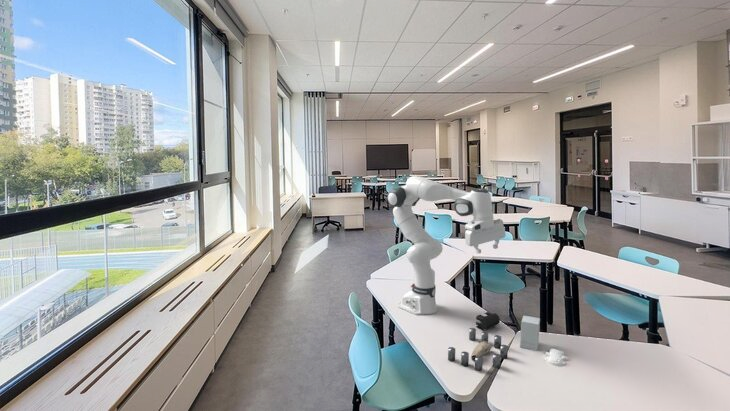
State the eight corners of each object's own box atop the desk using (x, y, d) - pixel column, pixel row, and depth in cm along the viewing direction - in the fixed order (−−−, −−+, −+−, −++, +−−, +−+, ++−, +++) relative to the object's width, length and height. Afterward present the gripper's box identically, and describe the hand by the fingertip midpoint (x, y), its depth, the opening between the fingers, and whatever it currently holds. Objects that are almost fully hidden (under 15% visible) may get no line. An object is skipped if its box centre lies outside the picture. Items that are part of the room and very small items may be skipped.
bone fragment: (479, 346, 175) (479, 337, 174) (492, 351, 170) (493, 342, 170) (465, 359, 165) (465, 349, 164) (478, 365, 160) (479, 354, 160)
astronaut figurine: (570, 356, 166) (570, 349, 165) (563, 369, 157) (564, 362, 156) (548, 349, 171) (548, 343, 171) (541, 361, 162) (541, 355, 162)
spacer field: (446, 360, 164) (447, 349, 163) (470, 336, 183) (470, 327, 182) (492, 376, 152) (493, 365, 151) (513, 350, 171) (513, 339, 170)
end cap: (486, 333, 187) (487, 320, 186) (475, 327, 193) (475, 314, 192) (499, 327, 192) (500, 315, 191) (488, 322, 198) (488, 310, 197)
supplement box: (537, 351, 170) (538, 324, 168) (519, 347, 173) (520, 321, 171) (538, 343, 176) (540, 318, 174) (521, 340, 180) (522, 314, 178)
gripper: (498, 217, 186) (501, 244, 188) (461, 226, 180) (465, 254, 182) (506, 218, 180) (509, 246, 182) (469, 228, 174) (473, 257, 176)
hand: (487, 250), depth 182 cm, fingers open, 8 cm apart
